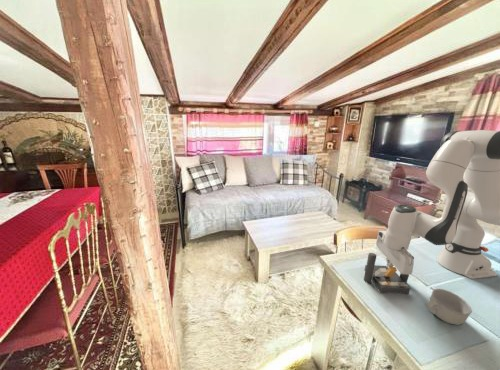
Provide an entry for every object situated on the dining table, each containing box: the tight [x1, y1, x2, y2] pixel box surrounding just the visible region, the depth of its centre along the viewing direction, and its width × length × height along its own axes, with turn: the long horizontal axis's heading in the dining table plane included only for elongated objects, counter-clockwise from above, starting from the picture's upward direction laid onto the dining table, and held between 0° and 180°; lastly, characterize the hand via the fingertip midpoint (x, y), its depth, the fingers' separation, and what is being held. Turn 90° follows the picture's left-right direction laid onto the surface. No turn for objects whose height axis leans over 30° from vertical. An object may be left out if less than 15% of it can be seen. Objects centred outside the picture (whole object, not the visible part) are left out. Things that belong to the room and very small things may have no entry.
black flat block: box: [364, 264, 411, 295], centre depth 93 cm, size 12×14×3 cm
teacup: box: [426, 288, 473, 326], centre depth 76 cm, size 14×11×8 cm
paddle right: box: [374, 268, 387, 277], centre depth 90 cm, size 2×2×7 cm
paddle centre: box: [384, 266, 398, 277], centre depth 90 cm, size 2×2×7 cm
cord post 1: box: [363, 252, 377, 284], centre depth 92 cm, size 3×3×14 cm
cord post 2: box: [399, 255, 415, 284], centre depth 91 cm, size 3×3×14 cm
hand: (389, 267), depth 90 cm, fingers closed, pressing on paddle centre
